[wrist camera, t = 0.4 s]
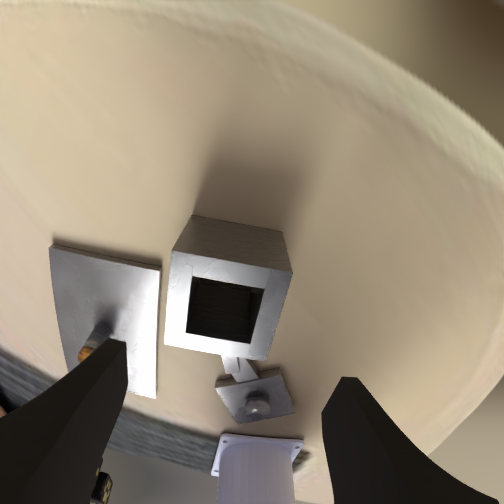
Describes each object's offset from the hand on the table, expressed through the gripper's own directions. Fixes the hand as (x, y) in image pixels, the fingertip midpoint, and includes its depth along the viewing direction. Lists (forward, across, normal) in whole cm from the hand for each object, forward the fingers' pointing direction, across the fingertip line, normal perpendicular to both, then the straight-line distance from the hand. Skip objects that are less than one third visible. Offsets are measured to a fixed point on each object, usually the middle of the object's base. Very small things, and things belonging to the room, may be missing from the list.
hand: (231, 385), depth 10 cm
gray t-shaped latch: (+10, -2, +9) cm, 14 cm away
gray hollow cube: (+10, 0, 0) cm, 10 cm away
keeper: (+10, +8, +8) cm, 15 cm away
